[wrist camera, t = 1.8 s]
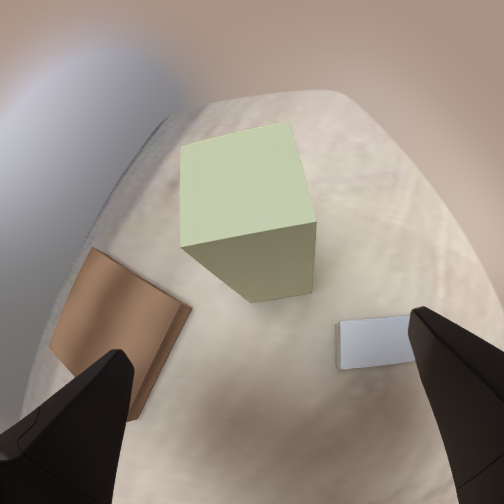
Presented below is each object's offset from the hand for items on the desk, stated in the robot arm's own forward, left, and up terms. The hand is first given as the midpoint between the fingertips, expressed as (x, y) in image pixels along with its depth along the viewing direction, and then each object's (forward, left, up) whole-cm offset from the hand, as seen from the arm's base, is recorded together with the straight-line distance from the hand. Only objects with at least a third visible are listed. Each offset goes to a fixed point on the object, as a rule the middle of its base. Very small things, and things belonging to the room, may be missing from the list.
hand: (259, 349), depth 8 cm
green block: (+3, -5, -12) cm, 13 cm away
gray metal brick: (-6, -3, -12) cm, 14 cm away
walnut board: (+13, +6, -12) cm, 19 cm away
